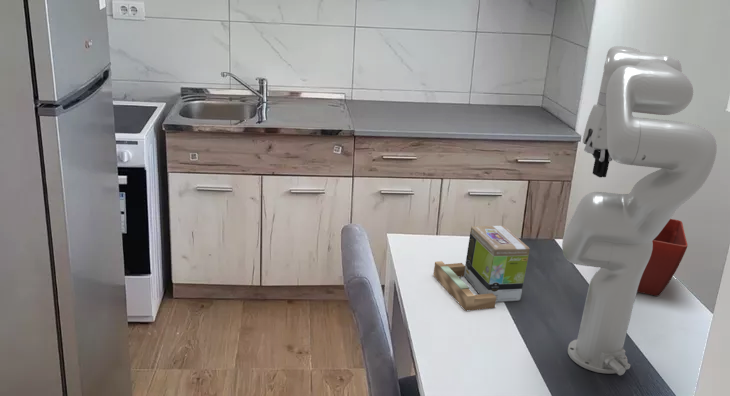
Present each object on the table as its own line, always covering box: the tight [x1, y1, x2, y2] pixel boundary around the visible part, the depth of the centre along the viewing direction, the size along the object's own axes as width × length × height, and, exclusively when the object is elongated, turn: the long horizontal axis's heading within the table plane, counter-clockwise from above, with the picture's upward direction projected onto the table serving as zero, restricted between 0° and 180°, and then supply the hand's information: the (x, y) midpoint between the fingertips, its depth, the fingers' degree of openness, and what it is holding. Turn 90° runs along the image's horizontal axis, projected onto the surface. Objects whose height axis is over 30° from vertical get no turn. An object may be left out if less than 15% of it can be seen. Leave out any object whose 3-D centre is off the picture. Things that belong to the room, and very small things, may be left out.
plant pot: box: [637, 218, 689, 297], centre depth 189 cm, size 19×19×17 cm
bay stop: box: [433, 260, 497, 312], centre depth 178 cm, size 19×8×4 cm, turn 19°
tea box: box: [463, 225, 531, 303], centre depth 179 cm, size 15×10×15 cm, turn 15°
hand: (599, 175), depth 169 cm, fingers closed
